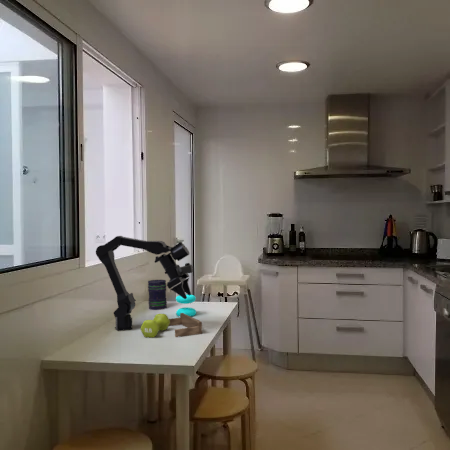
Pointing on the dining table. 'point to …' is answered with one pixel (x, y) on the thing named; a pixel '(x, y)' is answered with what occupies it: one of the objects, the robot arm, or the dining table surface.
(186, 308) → the donuts
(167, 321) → the dumbbell
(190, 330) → the walnut corral
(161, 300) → the storage jar
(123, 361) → the dining table surface
